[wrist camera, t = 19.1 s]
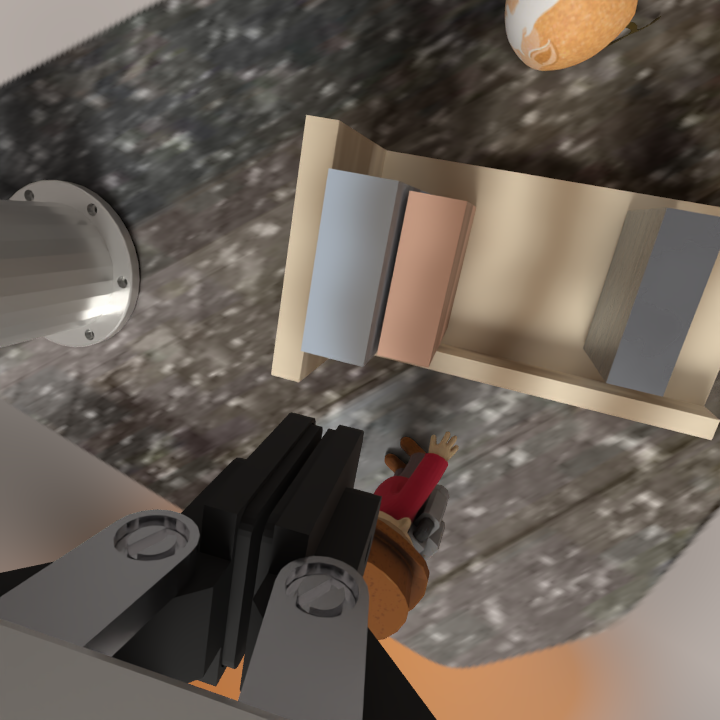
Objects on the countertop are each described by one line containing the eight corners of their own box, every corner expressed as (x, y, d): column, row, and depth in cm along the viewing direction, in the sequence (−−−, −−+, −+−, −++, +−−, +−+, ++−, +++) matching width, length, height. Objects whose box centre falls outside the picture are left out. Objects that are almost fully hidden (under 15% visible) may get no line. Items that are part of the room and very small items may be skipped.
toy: (424, 372, 35) (375, 473, 21) (500, 437, 35) (501, 582, 21) (328, 478, 39) (234, 621, 25) (396, 536, 39) (338, 714, 25)
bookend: (582, 348, 31) (605, 383, 24) (628, 210, 28) (667, 207, 22) (627, 358, 30) (662, 396, 24) (676, 219, 28) (731, 218, 21)
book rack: (336, 330, 36) (260, 381, 25) (367, 148, 32) (296, 109, 21) (689, 417, 32) (797, 528, 20) (771, 217, 28) (959, 215, 17)
